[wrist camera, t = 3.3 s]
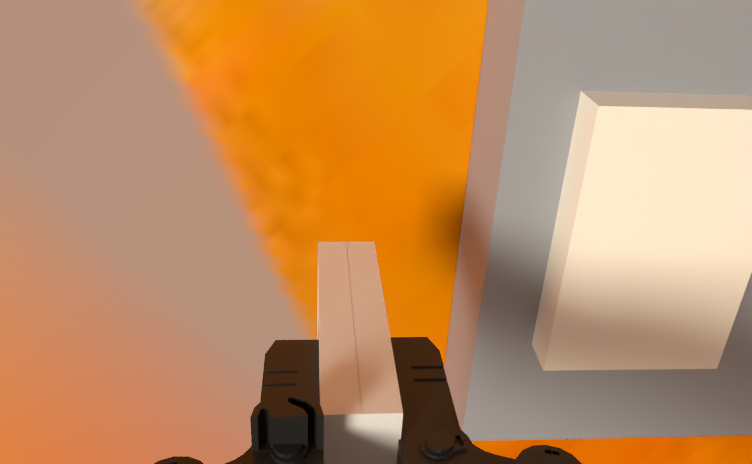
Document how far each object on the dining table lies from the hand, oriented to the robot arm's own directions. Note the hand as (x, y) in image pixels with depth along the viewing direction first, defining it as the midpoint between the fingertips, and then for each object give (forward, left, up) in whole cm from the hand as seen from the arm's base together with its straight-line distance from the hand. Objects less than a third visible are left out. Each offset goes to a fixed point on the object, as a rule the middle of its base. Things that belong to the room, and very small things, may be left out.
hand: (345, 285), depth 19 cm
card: (0, +10, -3) cm, 10 cm away
